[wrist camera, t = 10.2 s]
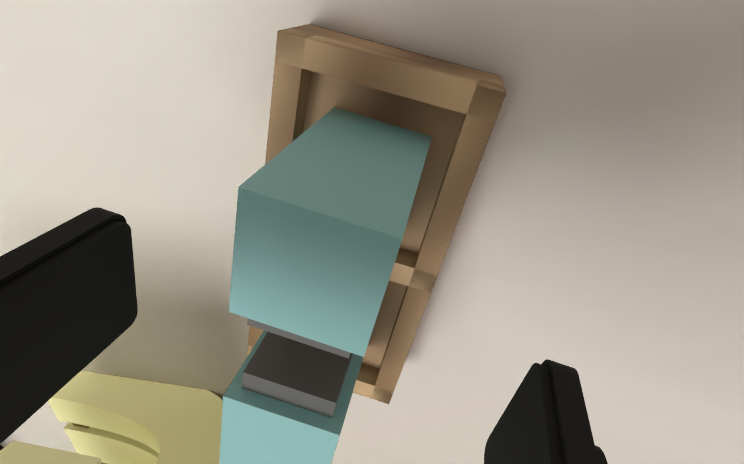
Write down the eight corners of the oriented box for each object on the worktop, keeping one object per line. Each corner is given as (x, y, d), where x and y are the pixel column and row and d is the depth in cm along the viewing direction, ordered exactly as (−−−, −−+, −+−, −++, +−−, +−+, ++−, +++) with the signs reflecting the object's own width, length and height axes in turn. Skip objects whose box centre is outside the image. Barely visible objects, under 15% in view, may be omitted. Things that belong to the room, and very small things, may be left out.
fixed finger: (387, 274, 20) (344, 420, 13) (366, 345, 23) (320, 498, 16) (307, 250, 21) (224, 380, 14) (294, 322, 23) (219, 463, 16)
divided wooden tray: (500, 76, 17) (505, 93, 14) (398, 359, 26) (388, 404, 23) (308, 24, 18) (277, 30, 15) (270, 319, 26) (246, 357, 23)
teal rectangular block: (314, 211, 19) (226, 331, 13) (333, 107, 17) (238, 186, 10) (399, 238, 19) (357, 375, 12) (432, 136, 17) (402, 239, 10)
